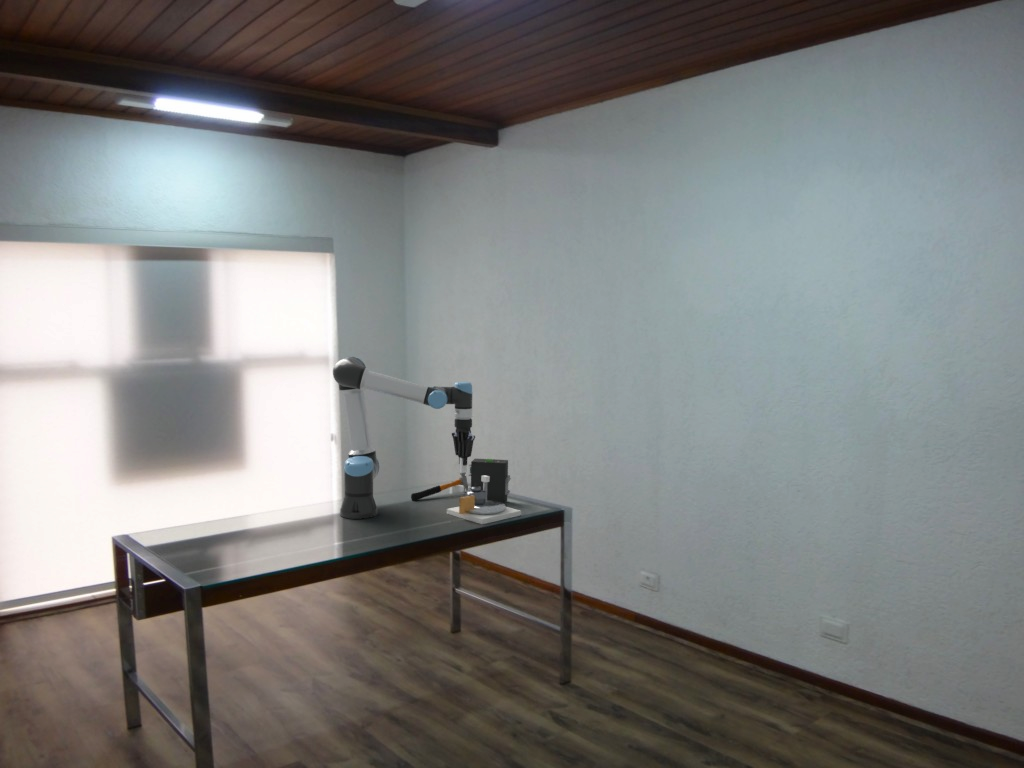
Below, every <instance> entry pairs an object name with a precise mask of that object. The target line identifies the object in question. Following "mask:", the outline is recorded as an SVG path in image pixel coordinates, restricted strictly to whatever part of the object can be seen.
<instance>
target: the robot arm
mask: <svg viewBox="0 0 1024 768" xmlns="http://www.w3.org/2000/svg"><path fill="white" fill-rule="evenodd" d="M332 375H333V378H334V380H335V382H336V383H337V384H338V390H339V391H340V393H342V394H343V398H344V399H343V400H344V406H345V407H344V408H345V413H346V420H347V421H346V422H347V428H348V436H349V443H350V450H349V452H348V453H347V454H348V455H347V456H348V458H347V459H346V460H345V461H344V467H343V469H344V497H343V500H342V503H341V506H340V509H339V510H340V511H339V516H341V518H345V519H350V520H353V519H354V520H361V519H362V518H364V519H369V517H370V518H374V517H376V516H377V515H378V507H377V503H376V501H375V498H374V479H375V478H376V477H377V476H378V474H379V472H380V463H379V460H378V458H377V452H376V448H374V447H373V446H372V442H371V435H370V426H369V420H368V411H367V405H366V396H365V390H369V391H374V392H378V393H381V394H384V395H389V396H391V397H396V398H399V399H403V400H407V401H409V402H414V403H418V404H421V405H425V406H429V407H430V408H432V409H436V410H441V409H442V408H444V407H445V406H446V405H454V417H455V418H454V428H455V431H454V432H451V437H452V438H453V447H454V454H455V456H457V457H458V464H459V474H460V473H465V472H466V473H467V472H468V471H467V468H468V467H467V465H468V458H470V457H471V456H472V452H473V447H474V441H475V439H476V435H473V434H472V430H471V428H472V427H473V419H472V417H473V385H472V382H469V381H456V382H455V383H454V386H435V385H434V386H426V385H424V384H420V383H416V382H412V381H410V380H406V379H402V378H398V377H395V376H390V375H387V374H384V373H380V372H375V371H373V370H370V369H369V367H367V366H366V364H365V362H363V360H362V359H360V358H358V357H355V356H348V357H347V356H346V357H344V358H341V359H340V360H338V361H337V362H336V363H335V364H334V366H333V369H332ZM373 516H374V517H373Z"/></svg>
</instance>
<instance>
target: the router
mask: <svg viewBox="0 0 1024 768" xmlns="http://www.w3.org/2000/svg"><path fill="white" fill-rule="evenodd" d="M470 462H471V463H469V464H468V467H469V473H468V477H470V487H469V486H468V490H471V487H473V486H480V487H481V490H483V482H482V481H481V476H483V475H486V476H490V478H489V482H487V500H491V501H498V502H501V503H504V504H505V505H506V504H507V503H508V495H509V494H510V493H511V490H509V482H510V480H512V479H511V475H510V474H509V459H493V458H473V460H472V461H470Z"/></svg>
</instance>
